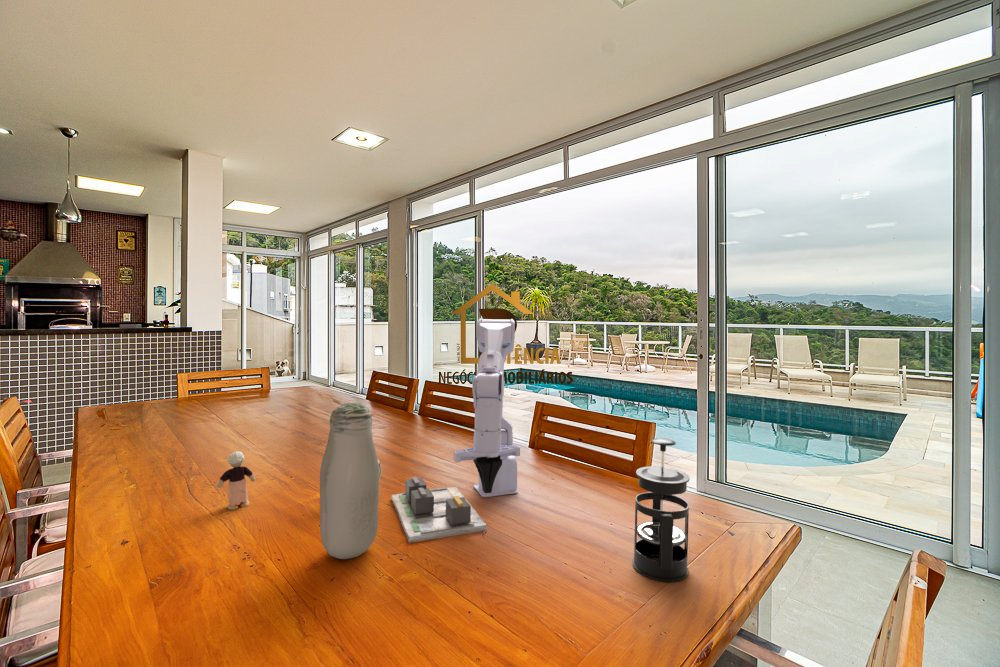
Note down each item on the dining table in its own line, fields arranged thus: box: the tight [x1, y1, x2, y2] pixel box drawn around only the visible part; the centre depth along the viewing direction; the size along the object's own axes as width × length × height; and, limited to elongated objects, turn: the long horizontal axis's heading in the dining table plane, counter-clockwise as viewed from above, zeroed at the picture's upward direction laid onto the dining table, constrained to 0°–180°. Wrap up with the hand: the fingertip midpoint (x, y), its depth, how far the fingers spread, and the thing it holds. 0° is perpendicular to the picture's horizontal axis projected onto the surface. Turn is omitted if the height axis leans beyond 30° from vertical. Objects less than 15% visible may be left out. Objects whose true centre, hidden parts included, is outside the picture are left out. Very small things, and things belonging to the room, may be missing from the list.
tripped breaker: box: [446, 496, 472, 525], centre depth 99 cm, size 4×5×4 cm
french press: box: [632, 437, 691, 583], centre depth 82 cm, size 12×9×23 cm
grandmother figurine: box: [216, 450, 257, 511], centre depth 107 cm, size 8×4×13 cm, turn 145°
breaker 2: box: [411, 488, 434, 515], centre depth 104 cm, size 4×5×4 cm
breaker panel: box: [391, 486, 487, 544], centre depth 105 cm, size 16×23×2 cm
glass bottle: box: [319, 402, 380, 560], centre depth 86 cm, size 10×10×28 cm
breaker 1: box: [404, 476, 427, 502], centre depth 111 cm, size 4×5×4 cm
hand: (487, 491), depth 101 cm, fingers closed
